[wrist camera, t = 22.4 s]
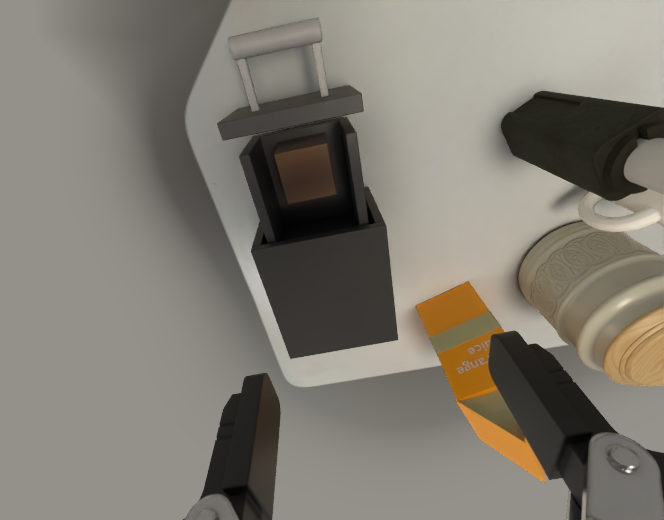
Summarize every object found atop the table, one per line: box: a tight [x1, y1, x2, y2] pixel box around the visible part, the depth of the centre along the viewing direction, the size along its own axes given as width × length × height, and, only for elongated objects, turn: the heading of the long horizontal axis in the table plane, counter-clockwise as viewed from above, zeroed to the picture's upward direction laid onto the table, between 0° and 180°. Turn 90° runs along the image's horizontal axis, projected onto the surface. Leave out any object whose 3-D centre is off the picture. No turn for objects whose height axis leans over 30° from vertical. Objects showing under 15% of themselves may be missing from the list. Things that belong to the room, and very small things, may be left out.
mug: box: [578, 188, 664, 232], centre depth 32 cm, size 12×8×10 cm
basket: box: [217, 18, 369, 244], centre depth 28 cm, size 17×10×8 cm, turn 10°
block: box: [274, 132, 337, 204], centre depth 30 cm, size 4×4×4 cm
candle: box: [501, 91, 664, 201], centre depth 22 cm, size 5×5×25 cm
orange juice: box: [416, 282, 546, 483], centre depth 37 cm, size 8×9×20 cm
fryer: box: [251, 187, 398, 359], centre depth 35 cm, size 14×12×10 cm
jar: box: [519, 222, 664, 386], centre depth 35 cm, size 13×13×18 cm
